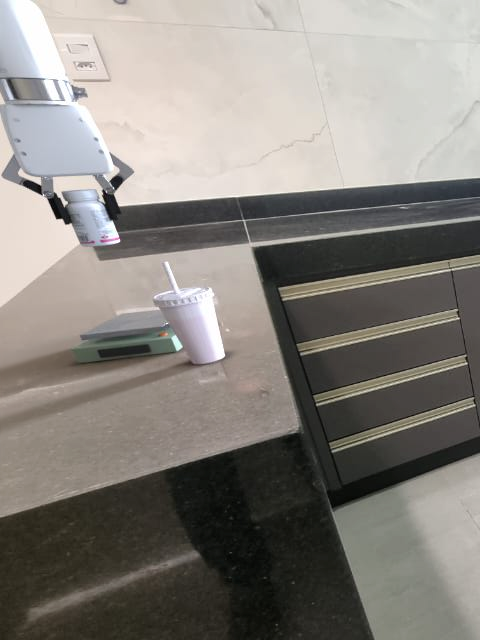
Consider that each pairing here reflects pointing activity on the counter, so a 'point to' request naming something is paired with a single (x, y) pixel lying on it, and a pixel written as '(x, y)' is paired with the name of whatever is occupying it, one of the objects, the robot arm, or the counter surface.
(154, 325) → the pan
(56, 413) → the counter surface
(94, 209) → the pill bottle
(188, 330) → the smoothie
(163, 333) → the scale
